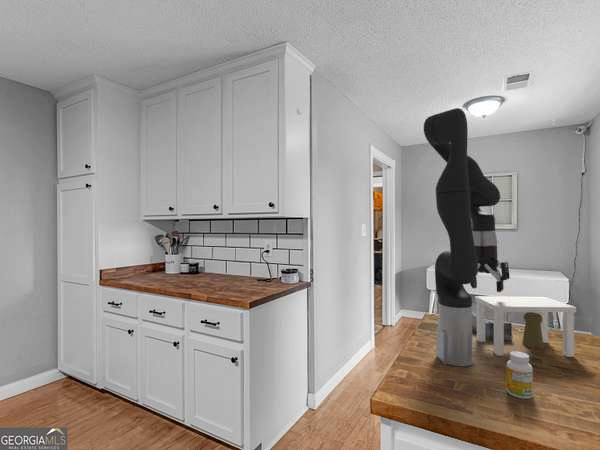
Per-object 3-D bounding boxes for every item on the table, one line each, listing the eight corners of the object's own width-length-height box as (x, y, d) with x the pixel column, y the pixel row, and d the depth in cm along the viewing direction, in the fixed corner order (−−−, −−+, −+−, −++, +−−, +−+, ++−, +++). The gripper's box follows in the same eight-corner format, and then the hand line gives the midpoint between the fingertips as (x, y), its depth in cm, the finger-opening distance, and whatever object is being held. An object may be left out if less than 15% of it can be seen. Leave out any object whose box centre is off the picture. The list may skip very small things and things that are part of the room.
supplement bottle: (508, 385, 86) (508, 348, 86) (533, 392, 82) (533, 353, 82) (505, 394, 82) (504, 355, 81) (531, 401, 78) (531, 360, 78)
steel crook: (486, 339, 119) (486, 323, 119) (462, 322, 139) (462, 308, 139) (511, 340, 118) (511, 323, 118) (483, 322, 139) (483, 308, 138)
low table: (496, 356, 104) (496, 306, 104) (475, 339, 119) (475, 296, 119) (576, 357, 103) (576, 307, 103) (545, 340, 117) (544, 296, 117)
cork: (547, 349, 110) (547, 315, 110) (527, 347, 111) (527, 315, 111) (538, 342, 116) (538, 311, 115) (519, 341, 117) (519, 310, 117)
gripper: (458, 244, 119) (461, 288, 120) (500, 245, 108) (503, 295, 108) (470, 241, 124) (472, 285, 124) (511, 243, 112) (513, 291, 112)
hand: (486, 289), depth 116 cm, fingers open, 8 cm apart
